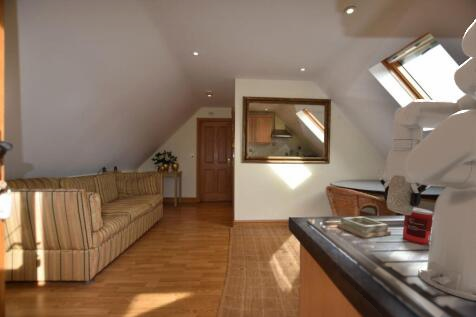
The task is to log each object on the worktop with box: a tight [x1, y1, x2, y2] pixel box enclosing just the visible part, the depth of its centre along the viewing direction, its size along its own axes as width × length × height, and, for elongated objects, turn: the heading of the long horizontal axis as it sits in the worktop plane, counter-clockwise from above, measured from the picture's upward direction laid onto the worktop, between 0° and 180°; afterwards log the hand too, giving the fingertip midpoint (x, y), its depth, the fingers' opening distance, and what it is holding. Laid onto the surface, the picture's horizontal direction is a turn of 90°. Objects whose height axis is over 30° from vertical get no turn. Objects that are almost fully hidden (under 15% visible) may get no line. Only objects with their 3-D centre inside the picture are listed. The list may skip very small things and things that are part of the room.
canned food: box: [402, 206, 434, 246], centre depth 83 cm, size 8×8×11 cm
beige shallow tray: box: [336, 216, 392, 239], centre depth 90 cm, size 14×12×4 cm
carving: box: [386, 175, 415, 216], centre depth 74 cm, size 6×8×12 cm
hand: (400, 202), depth 74 cm, fingers closed on carving, 7 cm apart
